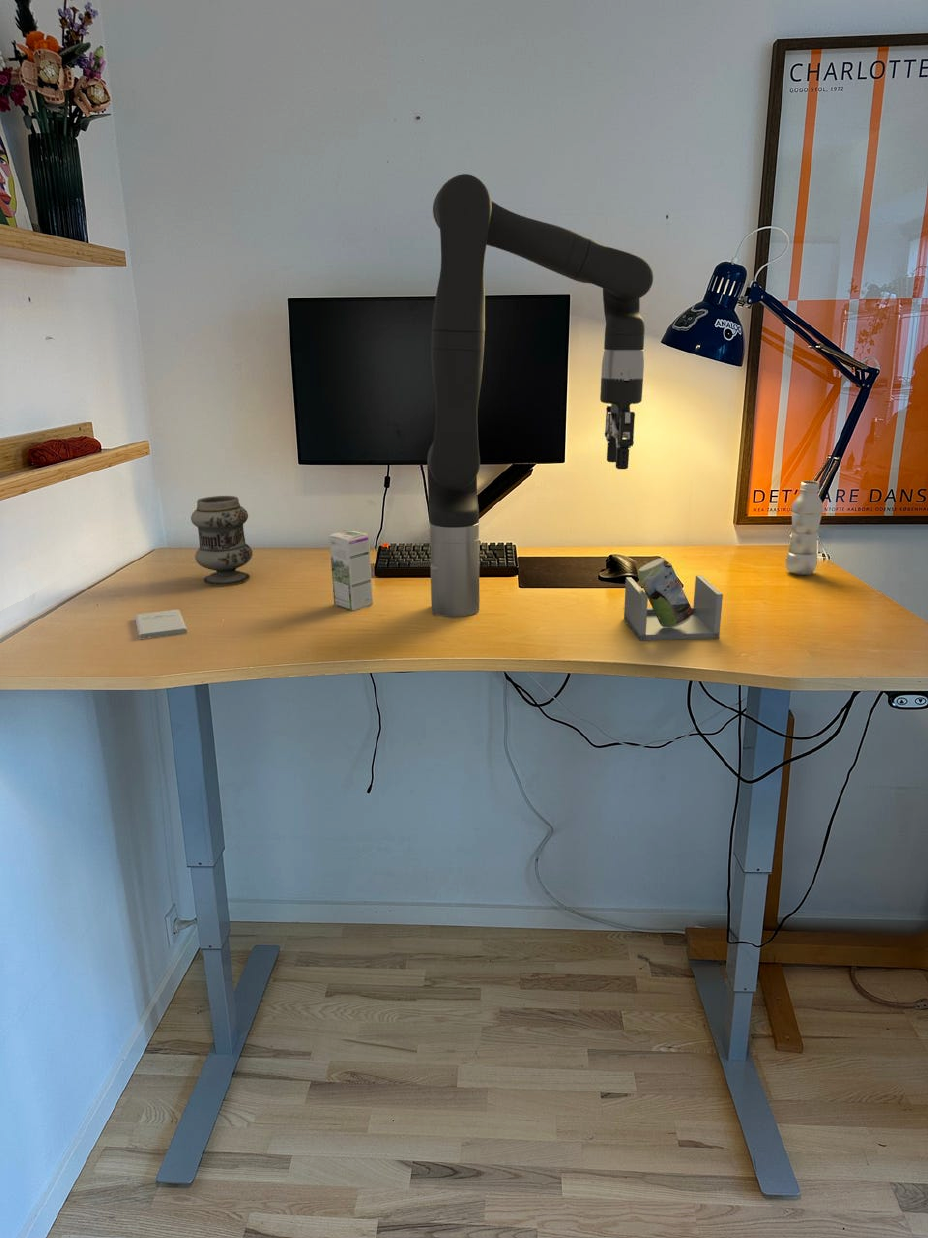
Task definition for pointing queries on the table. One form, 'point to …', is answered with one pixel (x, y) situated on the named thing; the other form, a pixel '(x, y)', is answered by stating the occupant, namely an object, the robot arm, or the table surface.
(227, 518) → the apothecary jar
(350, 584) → the syrup box
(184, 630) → the external hard drive
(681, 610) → the beverage can
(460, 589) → the robot arm
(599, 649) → the table surface
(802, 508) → the plastic bottle
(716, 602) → the holder
